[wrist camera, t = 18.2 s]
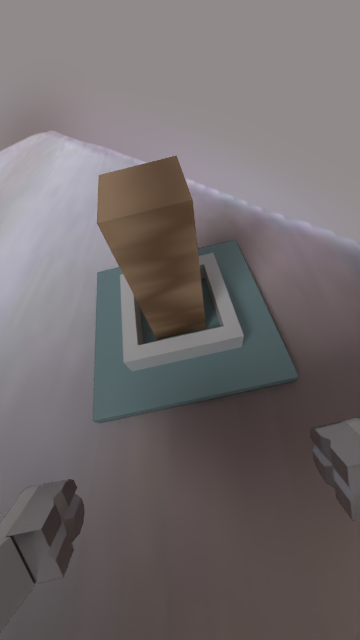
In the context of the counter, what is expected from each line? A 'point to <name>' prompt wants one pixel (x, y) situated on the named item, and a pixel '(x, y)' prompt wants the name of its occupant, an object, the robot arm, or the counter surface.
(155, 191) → the walnut block
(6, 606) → the robot arm
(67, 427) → the counter surface
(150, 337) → the socket plate
